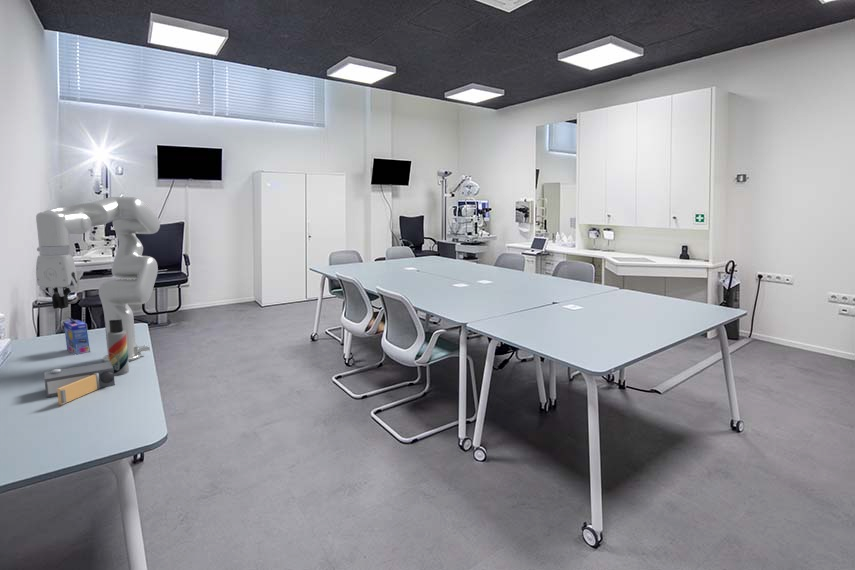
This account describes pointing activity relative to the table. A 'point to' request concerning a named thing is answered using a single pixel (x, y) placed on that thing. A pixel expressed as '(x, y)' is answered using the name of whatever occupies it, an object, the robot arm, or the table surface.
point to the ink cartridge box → (76, 336)
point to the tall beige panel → (78, 388)
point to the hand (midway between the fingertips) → (61, 307)
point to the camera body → (77, 376)
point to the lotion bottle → (118, 347)
